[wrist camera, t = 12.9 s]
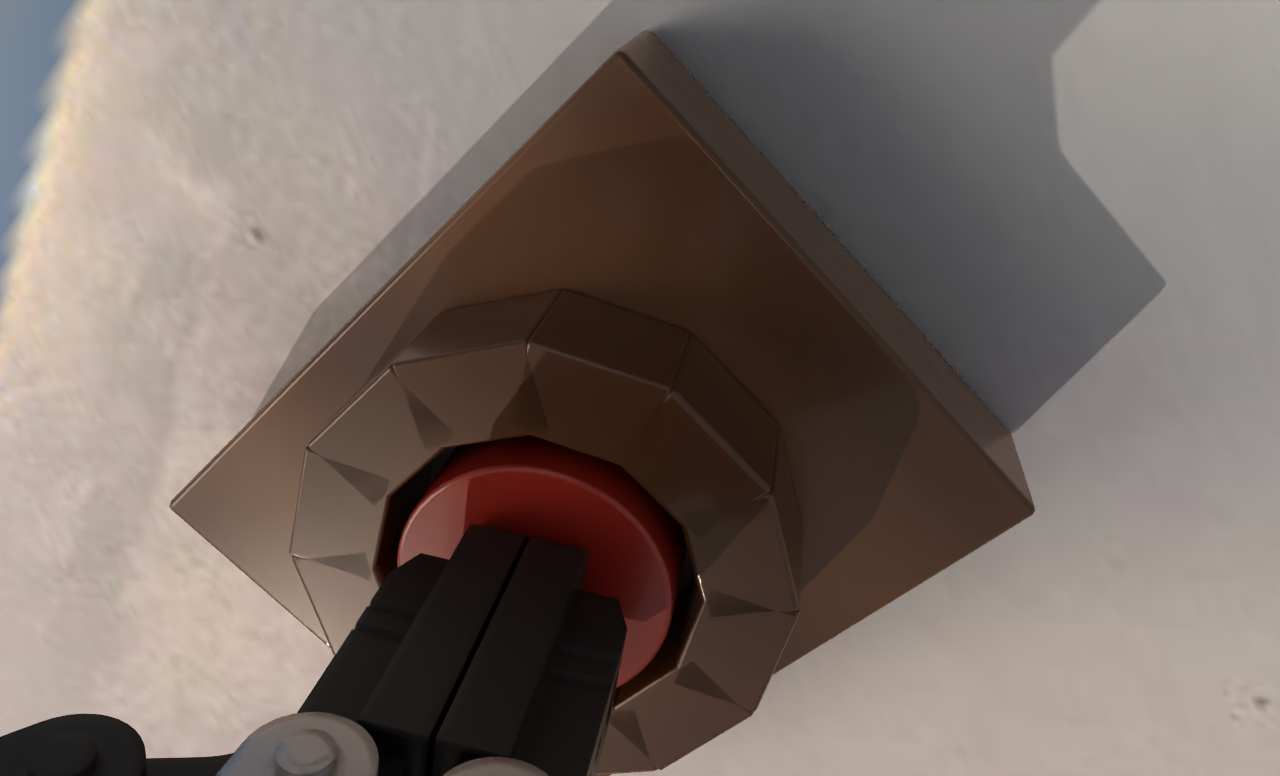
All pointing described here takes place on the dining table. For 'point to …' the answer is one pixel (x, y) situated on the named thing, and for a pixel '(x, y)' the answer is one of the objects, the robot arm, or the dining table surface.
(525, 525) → the button
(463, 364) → the button block
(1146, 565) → the dining table surface
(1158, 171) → the dining table surface
